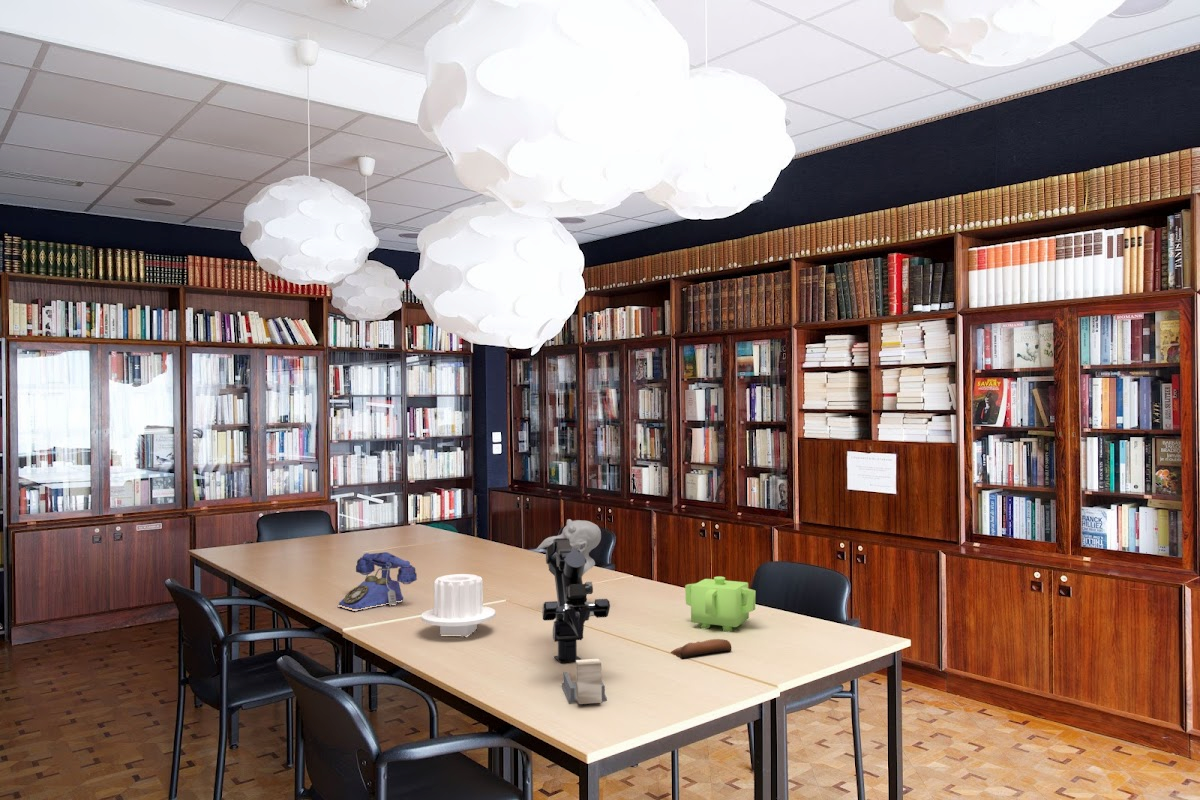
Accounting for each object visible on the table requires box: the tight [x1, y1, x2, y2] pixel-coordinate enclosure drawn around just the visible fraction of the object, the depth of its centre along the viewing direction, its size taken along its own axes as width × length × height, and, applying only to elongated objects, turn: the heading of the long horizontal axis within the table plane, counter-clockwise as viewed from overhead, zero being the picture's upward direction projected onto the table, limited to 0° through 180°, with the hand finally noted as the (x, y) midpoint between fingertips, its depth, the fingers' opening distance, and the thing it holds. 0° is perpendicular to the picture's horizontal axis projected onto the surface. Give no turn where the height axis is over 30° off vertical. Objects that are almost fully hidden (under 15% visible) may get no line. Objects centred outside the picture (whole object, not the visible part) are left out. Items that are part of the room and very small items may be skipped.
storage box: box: [684, 575, 757, 632], centre depth 292 cm, size 25×23×17 cm
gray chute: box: [561, 671, 608, 704], centre depth 223 cm, size 14×10×4 cm
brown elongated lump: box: [670, 638, 732, 660], centre depth 260 cm, size 18×7×7 cm, turn 114°
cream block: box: [575, 658, 603, 705], centre depth 215 cm, size 4×6×10 cm, turn 100°
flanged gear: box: [420, 573, 496, 636], centre depth 286 cm, size 25×25×19 cm
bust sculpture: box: [536, 518, 602, 617], centre depth 314 cm, size 16×24×35 cm, turn 87°
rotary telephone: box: [338, 551, 418, 609], centre depth 332 cm, size 41×24×20 cm, turn 48°
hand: (579, 636), depth 230 cm, fingers closed
